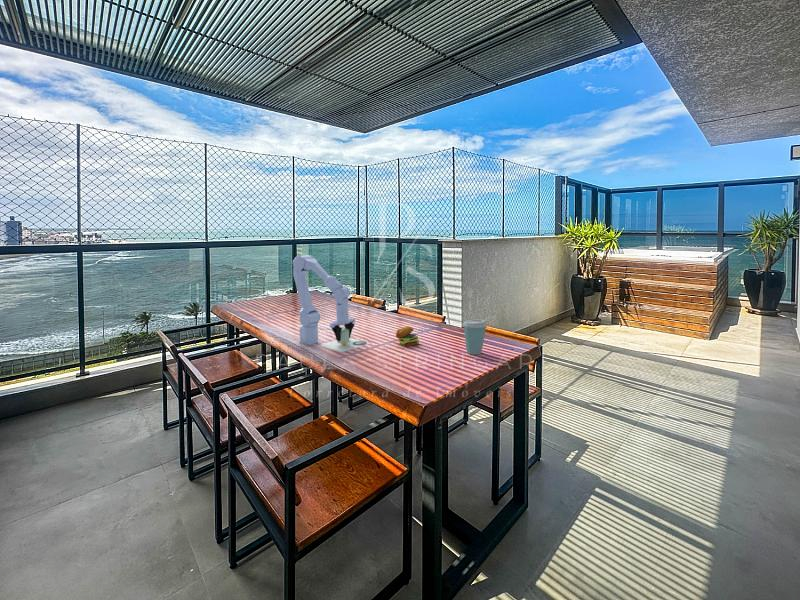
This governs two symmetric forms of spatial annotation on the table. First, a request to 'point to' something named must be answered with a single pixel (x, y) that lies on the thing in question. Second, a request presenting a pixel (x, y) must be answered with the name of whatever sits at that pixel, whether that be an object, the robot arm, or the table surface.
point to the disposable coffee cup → (474, 335)
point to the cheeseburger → (407, 336)
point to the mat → (342, 348)
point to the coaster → (359, 343)
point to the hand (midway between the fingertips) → (343, 339)
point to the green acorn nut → (344, 336)
